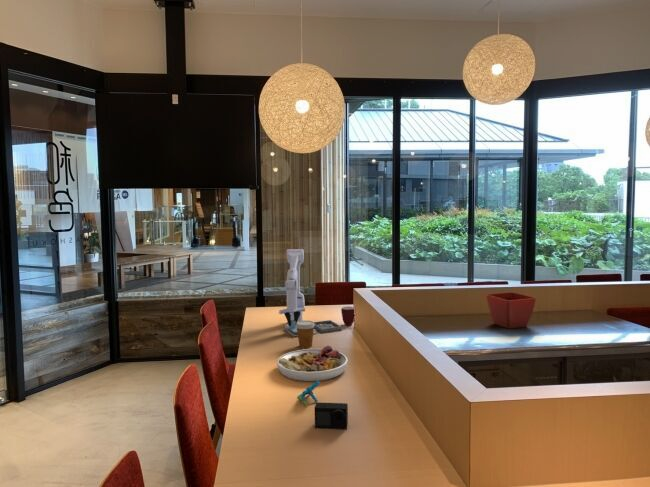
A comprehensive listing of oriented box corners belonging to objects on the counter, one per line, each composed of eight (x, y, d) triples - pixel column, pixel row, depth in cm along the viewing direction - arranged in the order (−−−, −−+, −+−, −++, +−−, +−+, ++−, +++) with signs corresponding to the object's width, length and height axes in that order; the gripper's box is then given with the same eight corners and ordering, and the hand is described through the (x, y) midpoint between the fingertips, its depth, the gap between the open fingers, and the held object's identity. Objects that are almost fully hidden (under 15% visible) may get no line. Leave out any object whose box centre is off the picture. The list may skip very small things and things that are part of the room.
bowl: (323, 389, 184) (323, 370, 184) (262, 375, 200) (262, 357, 200) (359, 366, 210) (359, 348, 209) (303, 355, 226) (303, 339, 225)
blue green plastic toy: (309, 388, 181) (322, 375, 175) (319, 401, 179) (332, 388, 173) (289, 402, 173) (301, 389, 167) (299, 416, 171) (312, 403, 165)
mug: (361, 325, 277) (361, 308, 276) (353, 328, 270) (353, 310, 269) (346, 322, 283) (346, 305, 282) (338, 325, 277) (338, 308, 276)
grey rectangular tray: (311, 326, 276) (311, 322, 276) (330, 323, 281) (330, 320, 281) (321, 333, 261) (321, 329, 261) (341, 330, 266) (341, 326, 266)
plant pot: (512, 319, 283) (512, 291, 281) (536, 327, 265) (536, 297, 263) (485, 322, 277) (485, 294, 275) (507, 331, 259) (508, 300, 257)
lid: (284, 326, 270) (285, 317, 270) (305, 325, 275) (305, 316, 275) (294, 333, 255) (294, 324, 255) (315, 332, 260) (316, 323, 259)
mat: (284, 329, 270) (284, 328, 270) (306, 326, 275) (306, 325, 275) (294, 336, 255) (294, 335, 255) (316, 333, 260) (316, 332, 260)
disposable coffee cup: (317, 344, 242) (317, 320, 241) (311, 349, 233) (310, 325, 232) (300, 342, 245) (299, 319, 244) (293, 348, 236) (292, 324, 235)
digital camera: (313, 430, 152) (313, 409, 151) (316, 422, 157) (315, 401, 157) (346, 431, 151) (346, 410, 150) (347, 423, 156) (347, 403, 155)
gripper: (281, 303, 255) (282, 328, 257) (306, 301, 261) (307, 325, 262) (277, 301, 262) (278, 325, 263) (302, 298, 267) (303, 322, 269)
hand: (292, 325), depth 263 cm, fingers open, 3 cm apart
